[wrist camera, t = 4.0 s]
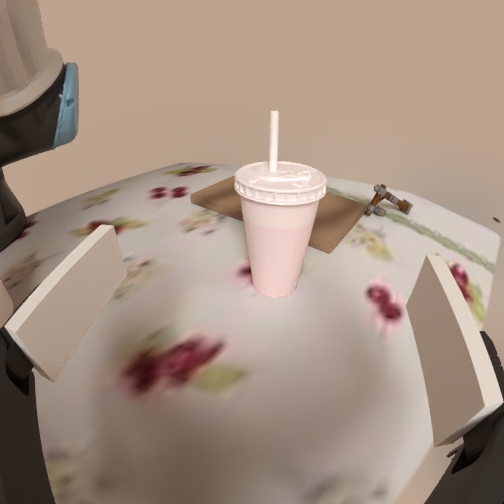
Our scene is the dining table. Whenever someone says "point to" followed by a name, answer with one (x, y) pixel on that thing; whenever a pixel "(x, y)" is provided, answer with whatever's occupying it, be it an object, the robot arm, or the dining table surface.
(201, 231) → the dining table surface
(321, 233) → the walnut board
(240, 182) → the smoothie
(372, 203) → the wooden post with brackets
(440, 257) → the robot arm
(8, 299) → the off-white cube
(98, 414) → the dining table surface
